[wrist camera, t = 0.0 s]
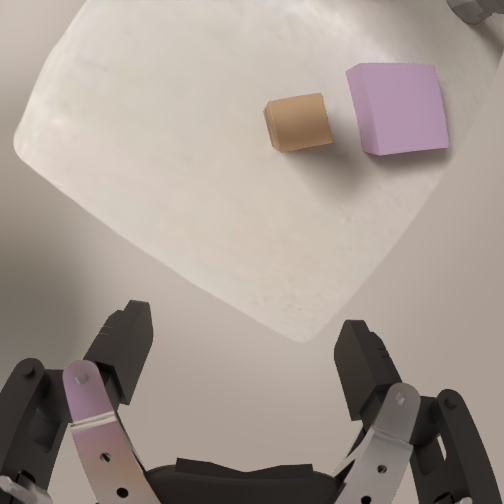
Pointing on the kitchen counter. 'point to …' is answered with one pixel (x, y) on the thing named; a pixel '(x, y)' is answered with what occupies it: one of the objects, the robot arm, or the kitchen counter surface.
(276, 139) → the walnut block
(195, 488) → the robot arm
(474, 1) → the coffeepot
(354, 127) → the kitchen counter surface
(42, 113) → the kitchen counter surface
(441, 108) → the base block
